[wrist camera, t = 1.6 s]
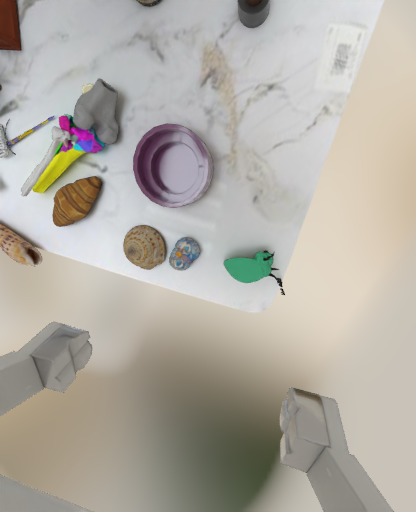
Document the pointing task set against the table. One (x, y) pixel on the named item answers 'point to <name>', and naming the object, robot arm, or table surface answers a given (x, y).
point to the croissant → (75, 200)
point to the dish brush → (253, 12)
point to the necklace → (3, 142)
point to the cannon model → (9, 26)
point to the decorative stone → (184, 254)
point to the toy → (252, 268)
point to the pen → (26, 133)
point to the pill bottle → (148, 2)
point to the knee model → (77, 134)
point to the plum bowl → (172, 165)
